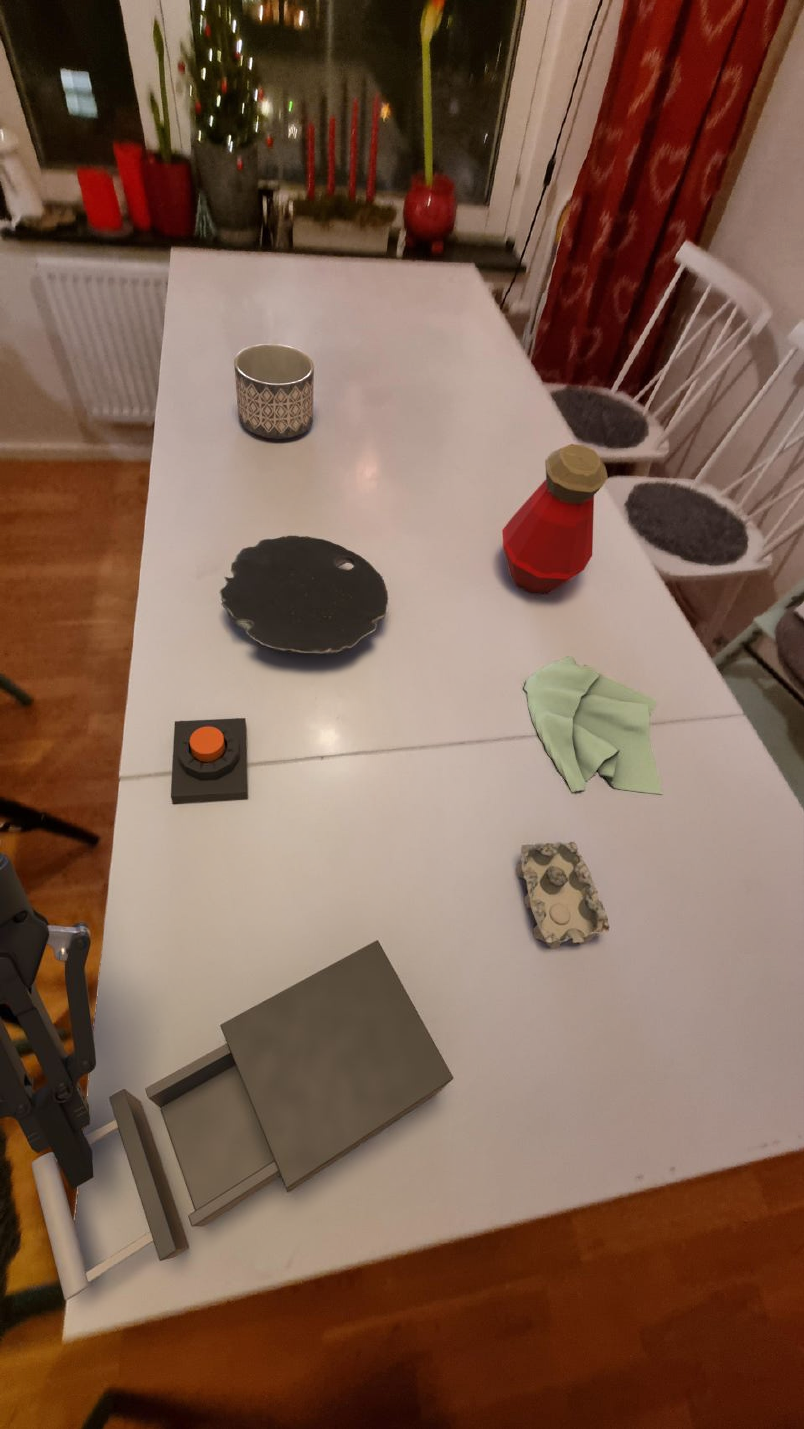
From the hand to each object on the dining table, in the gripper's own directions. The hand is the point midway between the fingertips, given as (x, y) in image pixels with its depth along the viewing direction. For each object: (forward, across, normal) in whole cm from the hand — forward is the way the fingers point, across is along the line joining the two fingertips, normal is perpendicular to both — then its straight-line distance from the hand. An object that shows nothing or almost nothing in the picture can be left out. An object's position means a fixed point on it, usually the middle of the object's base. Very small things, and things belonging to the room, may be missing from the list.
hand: (82, 1169), depth 49 cm
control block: (-17, -21, -30) cm, 41 cm away
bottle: (-25, -77, -38) cm, 89 cm away
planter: (-60, -56, -72) cm, 110 cm away
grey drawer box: (+8, -19, -5) cm, 21 cm away
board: (-29, -41, -42) cm, 65 cm away
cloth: (-6, -66, -18) cm, 69 cm away
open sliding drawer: (+7, -6, -4) cm, 10 cm away
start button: (-20, -21, -28) cm, 40 cm away
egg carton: (+5, -47, -8) cm, 48 cm away
